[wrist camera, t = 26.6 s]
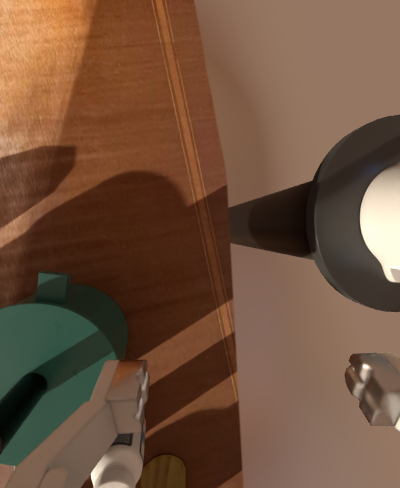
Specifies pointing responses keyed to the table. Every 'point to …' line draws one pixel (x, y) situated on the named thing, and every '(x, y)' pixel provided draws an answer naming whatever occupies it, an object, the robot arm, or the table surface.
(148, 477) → the vase
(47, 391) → the lid
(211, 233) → the table surface
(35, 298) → the pot
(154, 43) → the table surface
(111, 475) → the pill bottle
